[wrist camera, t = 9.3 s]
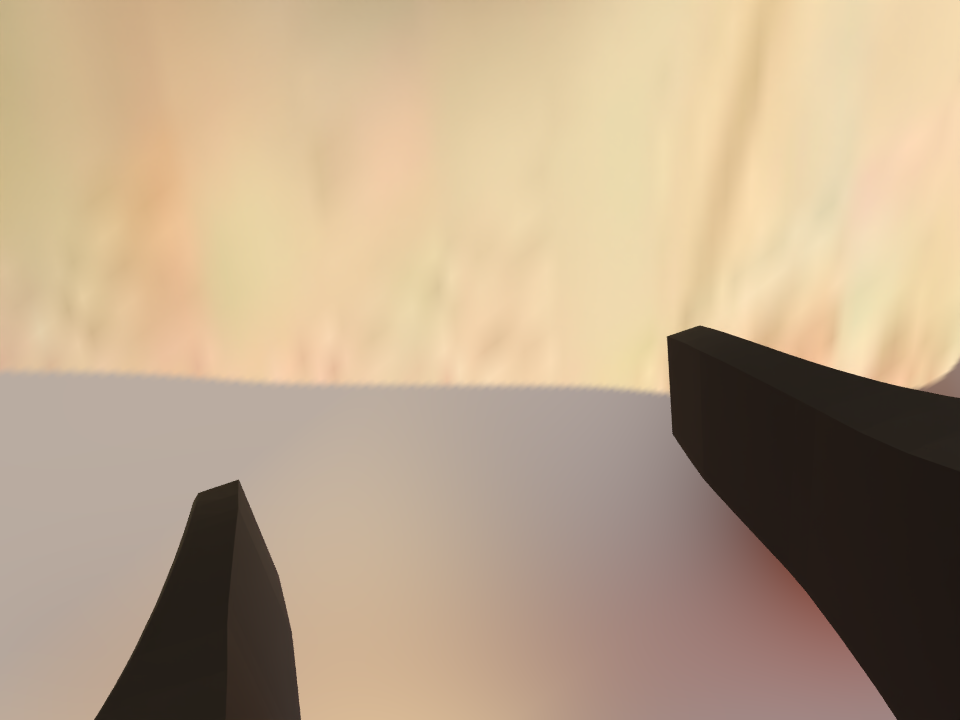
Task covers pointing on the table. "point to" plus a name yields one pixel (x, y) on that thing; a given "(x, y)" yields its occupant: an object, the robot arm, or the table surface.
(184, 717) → the robot arm
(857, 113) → the table surface
